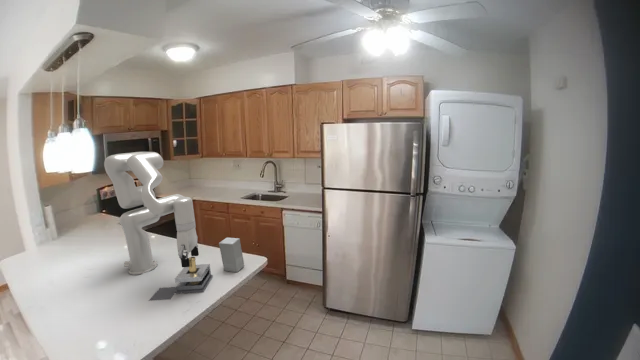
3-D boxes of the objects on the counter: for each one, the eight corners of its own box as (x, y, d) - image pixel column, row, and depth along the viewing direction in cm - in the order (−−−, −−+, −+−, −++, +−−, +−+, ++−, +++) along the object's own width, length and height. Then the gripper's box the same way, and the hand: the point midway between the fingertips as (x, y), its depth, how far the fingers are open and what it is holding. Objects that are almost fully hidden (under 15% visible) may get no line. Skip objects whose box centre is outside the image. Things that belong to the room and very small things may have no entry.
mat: (148, 301, 113) (148, 300, 113) (159, 288, 122) (159, 287, 122) (170, 300, 113) (170, 299, 113) (180, 287, 122) (180, 286, 122)
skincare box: (244, 266, 138) (241, 237, 135) (236, 273, 132) (232, 243, 128) (230, 264, 141) (227, 236, 138) (221, 271, 134) (218, 241, 131)
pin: (189, 285, 121) (185, 260, 118) (192, 280, 124) (188, 256, 122) (197, 284, 121) (193, 260, 119) (199, 280, 124) (196, 256, 122)
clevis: (175, 294, 117) (173, 279, 115) (187, 279, 129) (185, 264, 127) (203, 292, 117) (201, 277, 116) (212, 277, 129) (211, 263, 127)
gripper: (185, 218, 125) (190, 252, 129) (167, 233, 108) (172, 272, 112) (202, 218, 126) (206, 251, 129) (186, 233, 109) (191, 271, 112)
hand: (190, 261), depth 121 cm, fingers open, 9 cm apart
